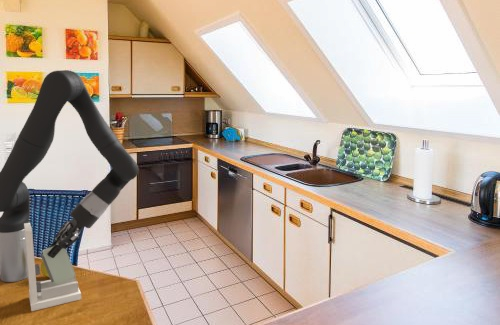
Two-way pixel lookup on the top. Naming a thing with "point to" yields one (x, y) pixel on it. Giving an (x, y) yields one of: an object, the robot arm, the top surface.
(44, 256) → the pale green slab
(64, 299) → the white tall l-shaped piece
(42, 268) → the lemon
